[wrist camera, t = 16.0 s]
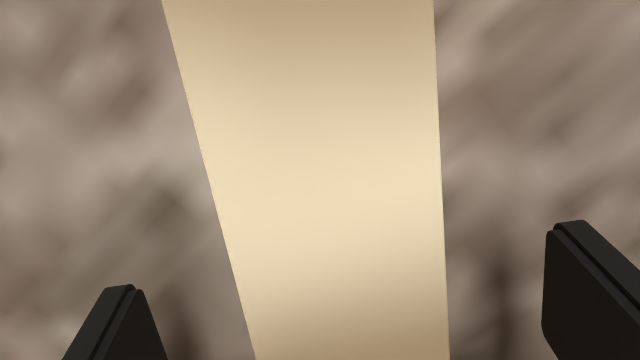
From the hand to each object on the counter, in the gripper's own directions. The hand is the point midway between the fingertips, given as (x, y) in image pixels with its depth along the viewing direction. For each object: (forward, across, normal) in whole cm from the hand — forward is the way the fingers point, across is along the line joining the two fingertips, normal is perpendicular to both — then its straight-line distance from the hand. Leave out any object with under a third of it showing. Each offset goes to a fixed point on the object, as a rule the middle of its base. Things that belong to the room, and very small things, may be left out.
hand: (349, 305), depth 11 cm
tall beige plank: (+3, 0, 0) cm, 3 cm away
